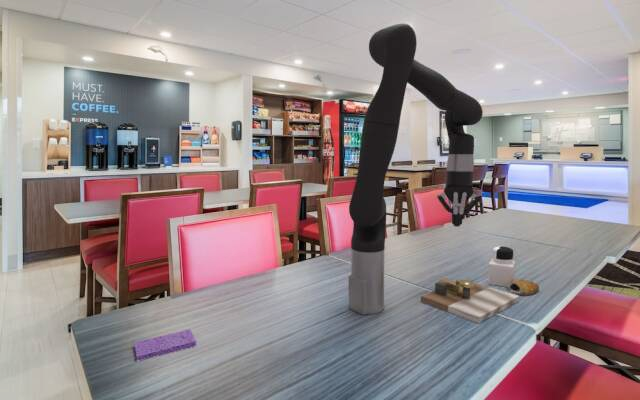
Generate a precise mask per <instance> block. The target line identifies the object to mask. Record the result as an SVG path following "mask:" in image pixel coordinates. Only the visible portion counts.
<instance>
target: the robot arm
mask: <svg viewBox="0 0 640 400" xmlns="http://www.w3.org/2000/svg"><path fill="white" fill-rule="evenodd" d="M368 52H369V55H370V57H371V59H372V60H373V61H374V62H375V63H376V64H377V65H379V66H381V67H382V68H383V71H382V77H381V79H380V80H381V81H380V83H379V86H378V88H377V91H376V92H375V94H374V96H373V98H372V100H371V102H370V103H369V105H368V107H367V109H366V111H365V115H364V119H363V124H362V130H361V136H360V137H361V138H360V145H359V156H358V166H357V174H356V179H355V182H354V183H355V184H354V187H353V192H352V195H351V198H350V201H349V205H348V213H349V216H350V219H351V220H352V221H353V227H352V234H351V235H352V236H351V241H350V275H348V309H351V310H352V311H355V312H357V313H359V314H360V315H372V314H373V315H374V314H378V313H381V312H383V311H384V308H385V244H386V243H385V242H386V236H387V235H386V234H387V203H386V200H385V197H384V188H385V182H386V176H387V173H388V169H389V166H390V164H391V161H392V158H393V156H394V151H395V148H396V144H397V142H398V141H397V140H398V134H399V129H400V122H401V115H402V111H403V110H402V109H403V105H404V100H405V94H406V89H407V85H408V84H409V85H410V86H412V87H413V88H414V89H415V90H417V91H418V92H419V93H420V94H421V95H423V96H424V98H426V99H427V100H428V101H430V103H432V104H433V105H434V106H435V107H436V108H437V109H438V110H441V111H444V112H445V113H444V123H445V128H446V133H447V136H448V142H449V143H448V155H447V160H446V161H447V163H446V174H445V175H446V176H445V177H446V179H445V188H444V189H443V192H441V193H440V194H437V195H436V198H437V199H438V201H439V203H440V204H441V205H442V207H443V208H444V209H445V210H446V212H448V213H450V214H451V224H452V225H453V226H454V227H460V226H461V225H463V215H464V214H467V213H468V214H469V213H470V212H471V211H472V210H473V208H474V207H475V206H476V205H477V204H478V203H479V202H480V201H481V199H482V198H481V197H480V196H479V195H477V194H476V193H475V190H474V189H473V183H474V182H473V181H474V168H475V167H474V166H475V161H474V160H475V159H474V154H475V153H474V151H475V137H474V136H473V134H469V133H466V132H465V129H464V126H474V125H476V124H478V123H479V122H480V121H481V119H482V118H483V107H482V105H481V104H480V102H479V101H478V100H477V99H475V98H474V97H472V96H471V95H469V94H468V93H465V92H464V91H461V90H459V89H457V88H456V87H455V85H454V84H453V83H452V82H450V81H449V80H448V78H446V77H445V76H444V75H442V74H441V73H439V72H438V71H436V70H434V69H432V68H431V67H428V66H426V65H424V64H422V63H421V62H420V61H418V60H416V59H415V56H416V52H417V34H416V31H415V30H414V28H413V27H412V26H411V25H410V24H407V23H398V24H394V25H390V26H386V27H385V28H382V29H379V30H378V31H375V32H374V33H373V34H372V36H371V37H370V40H369V43H368ZM447 199H448V200H449V201H450V205H451V207H450V205H449V204H448V203H447V201H446V200H447ZM468 200H470V201H469V202H468ZM467 202H468V203H467ZM466 203H467V205H466Z"/></svg>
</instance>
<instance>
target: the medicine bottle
mask: <svg viewBox="0 0 640 400" xmlns="http://www.w3.org/2000/svg"><path fill="white" fill-rule="evenodd" d="M515 273H516V261H515V260H514V249H512V248H511V247H509V246H508V247H507V246H501V245H499V246H495V247H493V249H492V258H491V260H490V261H489V263H488V277H487V278H488V279H487V283H488V285H491V286H499V287H503V288H507V285H508V284H509V283H510V282H511V281H512V280H516V279H515V276H516V274H515Z"/></svg>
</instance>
